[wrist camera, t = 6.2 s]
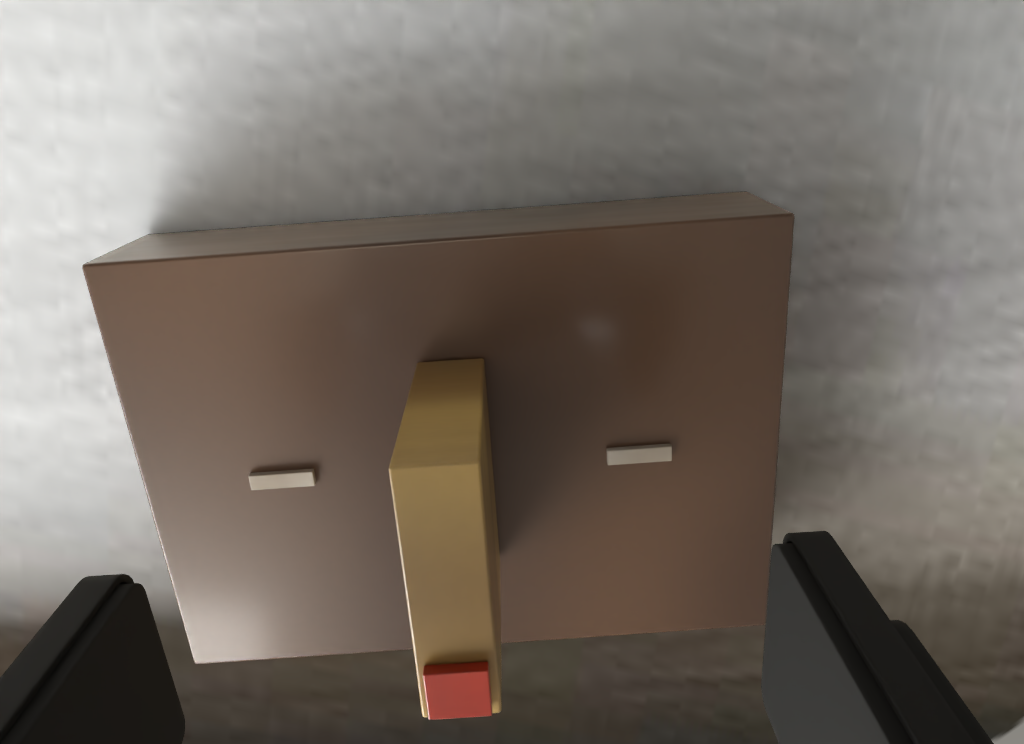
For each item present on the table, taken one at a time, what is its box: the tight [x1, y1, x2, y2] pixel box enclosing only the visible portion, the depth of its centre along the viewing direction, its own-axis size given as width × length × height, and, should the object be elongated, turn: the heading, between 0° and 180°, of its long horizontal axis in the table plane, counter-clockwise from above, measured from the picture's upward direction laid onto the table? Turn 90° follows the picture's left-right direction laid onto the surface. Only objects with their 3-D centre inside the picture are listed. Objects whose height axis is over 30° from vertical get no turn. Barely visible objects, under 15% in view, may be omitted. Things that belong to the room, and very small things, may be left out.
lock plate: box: [83, 191, 794, 664], centre depth 18 cm, size 14×10×3 cm
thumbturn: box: [389, 358, 502, 720], centre depth 14 cm, size 5×1×5 cm, turn 3°
